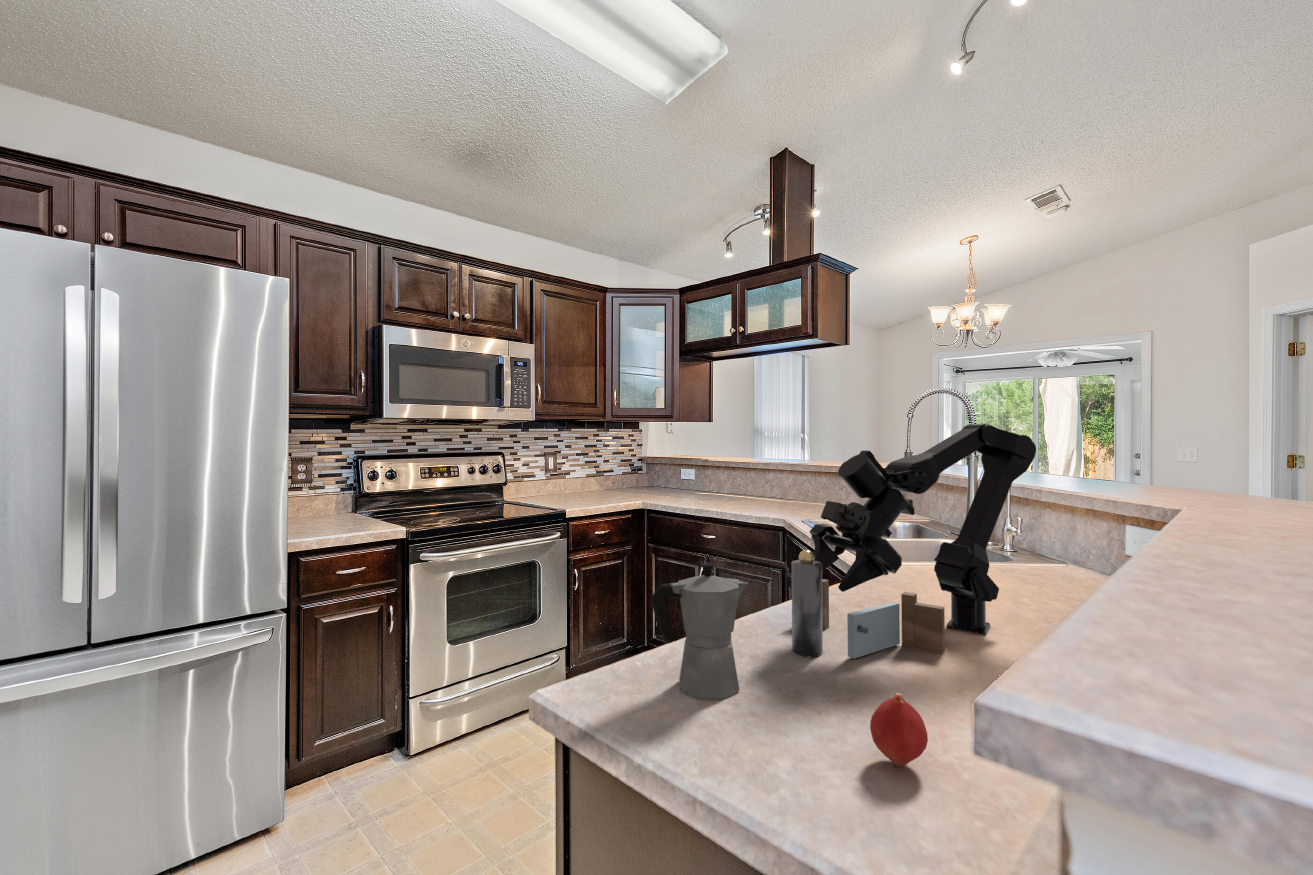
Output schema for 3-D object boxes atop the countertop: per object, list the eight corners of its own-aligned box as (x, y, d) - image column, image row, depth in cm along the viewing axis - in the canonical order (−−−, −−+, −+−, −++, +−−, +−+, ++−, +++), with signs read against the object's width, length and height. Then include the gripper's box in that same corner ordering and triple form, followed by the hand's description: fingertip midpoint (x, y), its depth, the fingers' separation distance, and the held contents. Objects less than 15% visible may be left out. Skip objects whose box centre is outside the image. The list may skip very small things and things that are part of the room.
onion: (861, 751, 65) (861, 682, 65) (909, 748, 65) (908, 679, 65) (886, 782, 59) (885, 706, 59) (938, 778, 60) (938, 703, 60)
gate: (893, 641, 99) (893, 601, 99) (907, 646, 97) (906, 605, 97) (847, 656, 92) (847, 613, 92) (861, 661, 90) (860, 617, 90)
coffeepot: (733, 667, 89) (732, 553, 89) (765, 692, 80) (764, 566, 80) (641, 682, 84) (640, 561, 84) (663, 711, 75) (662, 576, 75)
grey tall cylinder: (799, 643, 99) (798, 545, 99) (827, 649, 96) (826, 549, 96) (787, 652, 95) (786, 550, 95) (815, 659, 92) (814, 553, 92)
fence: (803, 621, 111) (803, 576, 111) (945, 650, 95) (944, 597, 95) (799, 624, 109) (799, 578, 109) (942, 654, 94) (942, 600, 94)
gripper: (818, 481, 107) (766, 542, 104) (887, 489, 90) (828, 563, 86) (852, 520, 110) (803, 581, 106) (926, 536, 92) (870, 610, 89)
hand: (823, 583), depth 97 cm, fingers open, 9 cm apart
